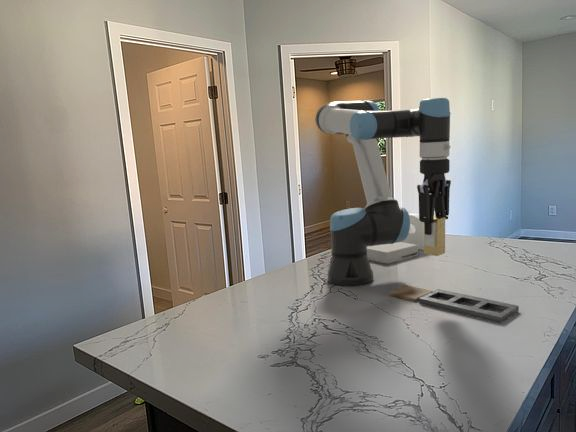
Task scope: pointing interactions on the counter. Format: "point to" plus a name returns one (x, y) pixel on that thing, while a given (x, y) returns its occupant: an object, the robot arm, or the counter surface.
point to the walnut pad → (409, 293)
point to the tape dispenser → (415, 231)
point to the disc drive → (391, 252)
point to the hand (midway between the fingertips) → (434, 243)
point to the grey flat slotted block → (474, 311)
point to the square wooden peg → (437, 238)
